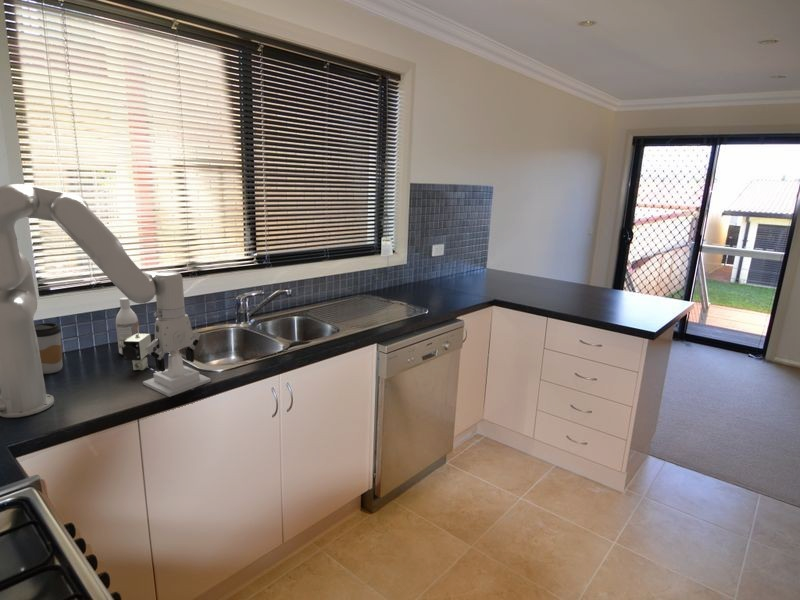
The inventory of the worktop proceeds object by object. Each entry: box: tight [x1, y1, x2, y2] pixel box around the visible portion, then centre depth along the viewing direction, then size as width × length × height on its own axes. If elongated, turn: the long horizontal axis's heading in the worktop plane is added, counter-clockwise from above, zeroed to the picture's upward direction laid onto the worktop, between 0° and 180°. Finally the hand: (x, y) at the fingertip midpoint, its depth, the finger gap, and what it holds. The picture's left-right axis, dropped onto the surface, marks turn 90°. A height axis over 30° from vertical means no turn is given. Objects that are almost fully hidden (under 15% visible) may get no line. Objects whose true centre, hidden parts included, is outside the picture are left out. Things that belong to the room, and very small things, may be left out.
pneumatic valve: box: [122, 332, 154, 371], centre depth 161 cm, size 6×12×12 cm, turn 2°
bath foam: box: [115, 296, 140, 355], centre depth 174 cm, size 7×7×20 cm
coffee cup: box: [34, 322, 64, 375], centre depth 156 cm, size 8×8×15 cm
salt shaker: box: [167, 349, 185, 379], centre depth 151 cm, size 5×5×11 cm
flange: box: [142, 364, 212, 398], centre depth 152 cm, size 14×14×4 cm
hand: (175, 365), depth 151 cm, fingers open, 9 cm apart
